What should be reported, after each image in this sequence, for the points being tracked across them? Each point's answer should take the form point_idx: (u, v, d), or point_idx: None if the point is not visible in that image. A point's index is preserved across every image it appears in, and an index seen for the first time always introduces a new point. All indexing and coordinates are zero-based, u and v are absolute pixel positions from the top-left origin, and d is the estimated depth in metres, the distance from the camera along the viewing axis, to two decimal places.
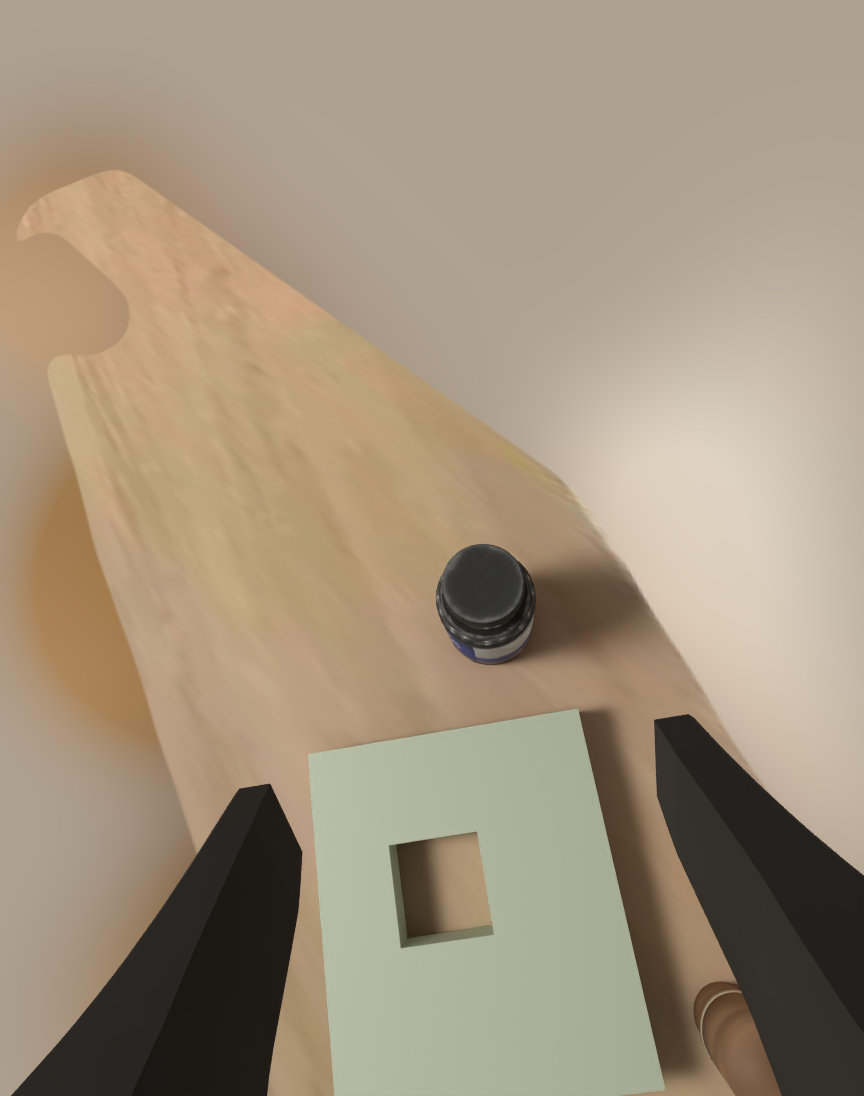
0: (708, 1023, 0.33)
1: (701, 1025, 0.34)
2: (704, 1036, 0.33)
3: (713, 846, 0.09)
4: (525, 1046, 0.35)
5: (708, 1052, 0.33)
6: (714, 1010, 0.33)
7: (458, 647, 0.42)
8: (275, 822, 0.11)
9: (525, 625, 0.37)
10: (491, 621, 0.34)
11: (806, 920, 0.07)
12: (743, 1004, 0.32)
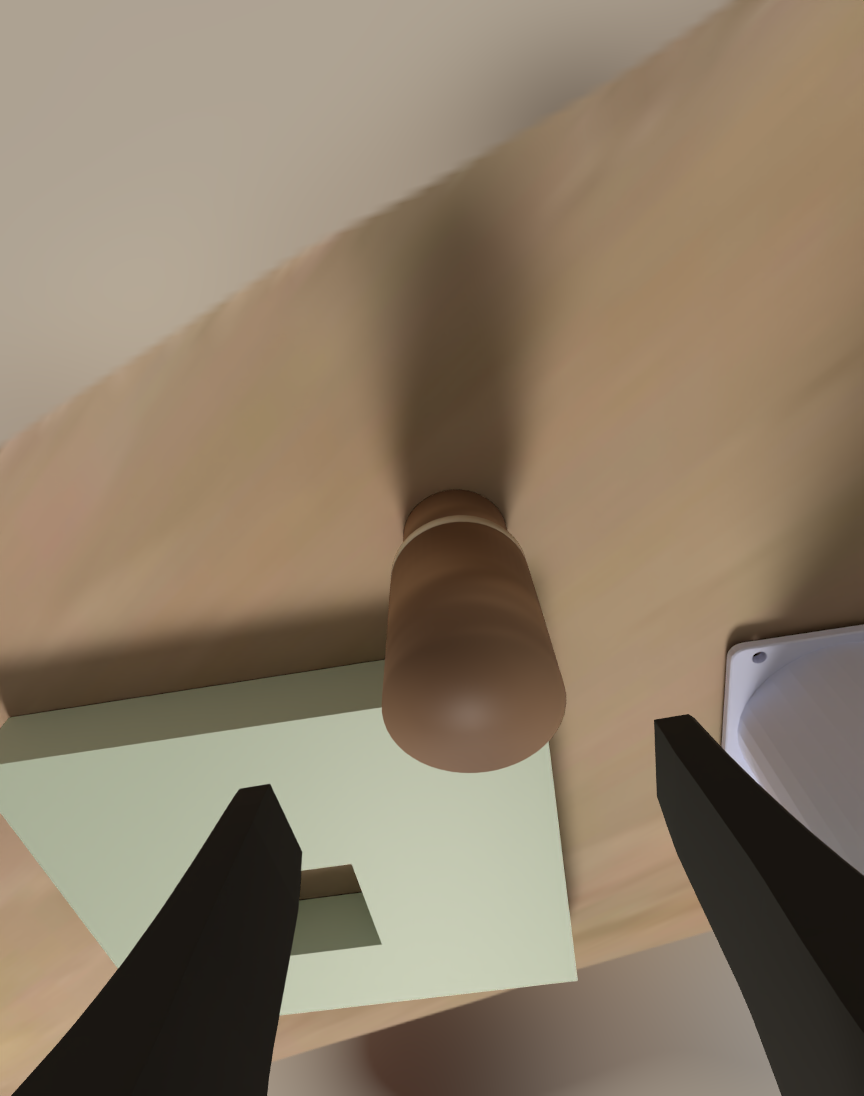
0: None
1: None
2: None
3: (713, 846, 0.09)
4: (488, 832, 0.24)
5: None
6: None
7: None
8: (275, 822, 0.11)
9: None
10: None
11: (806, 920, 0.07)
12: None
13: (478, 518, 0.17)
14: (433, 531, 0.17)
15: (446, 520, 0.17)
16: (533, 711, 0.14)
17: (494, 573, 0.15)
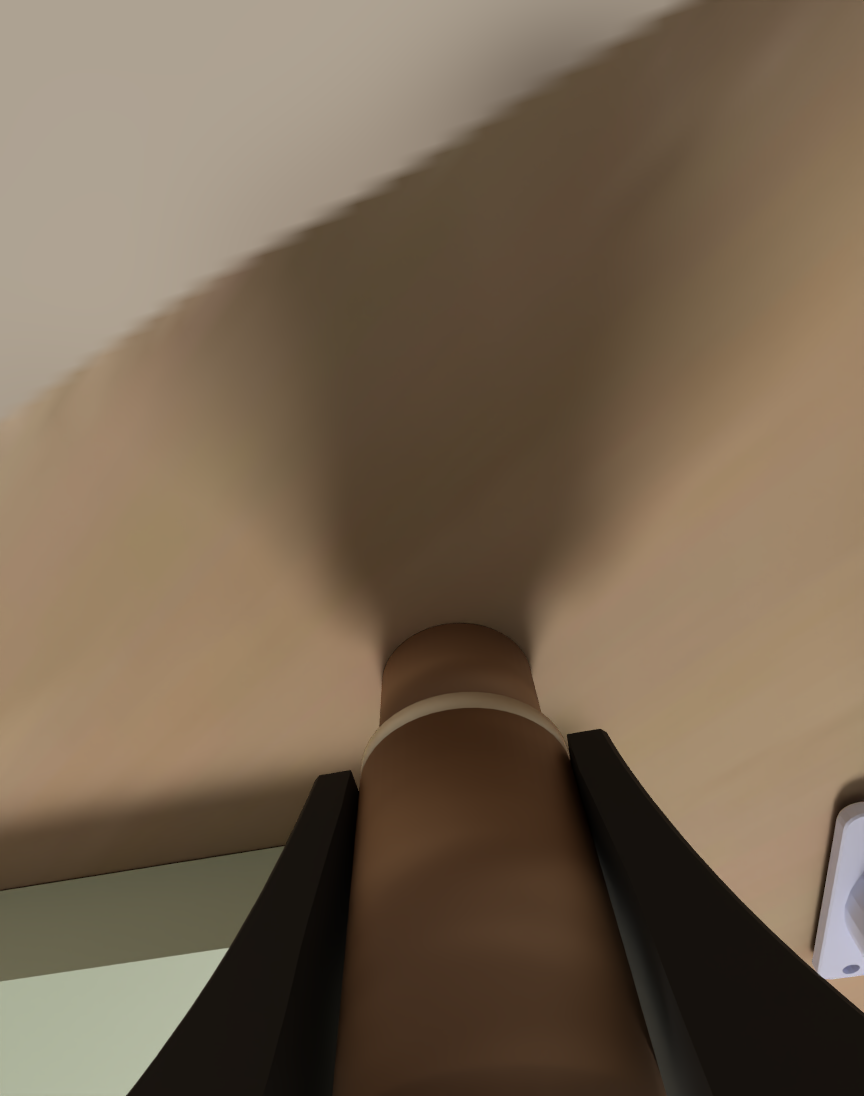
0: None
1: None
2: None
3: (609, 862, 0.09)
4: None
5: None
6: None
7: None
8: (356, 809, 0.11)
9: None
10: None
11: (670, 939, 0.07)
12: None
13: (493, 697, 0.11)
14: (422, 728, 0.11)
15: (443, 703, 0.11)
16: None
17: (527, 847, 0.09)
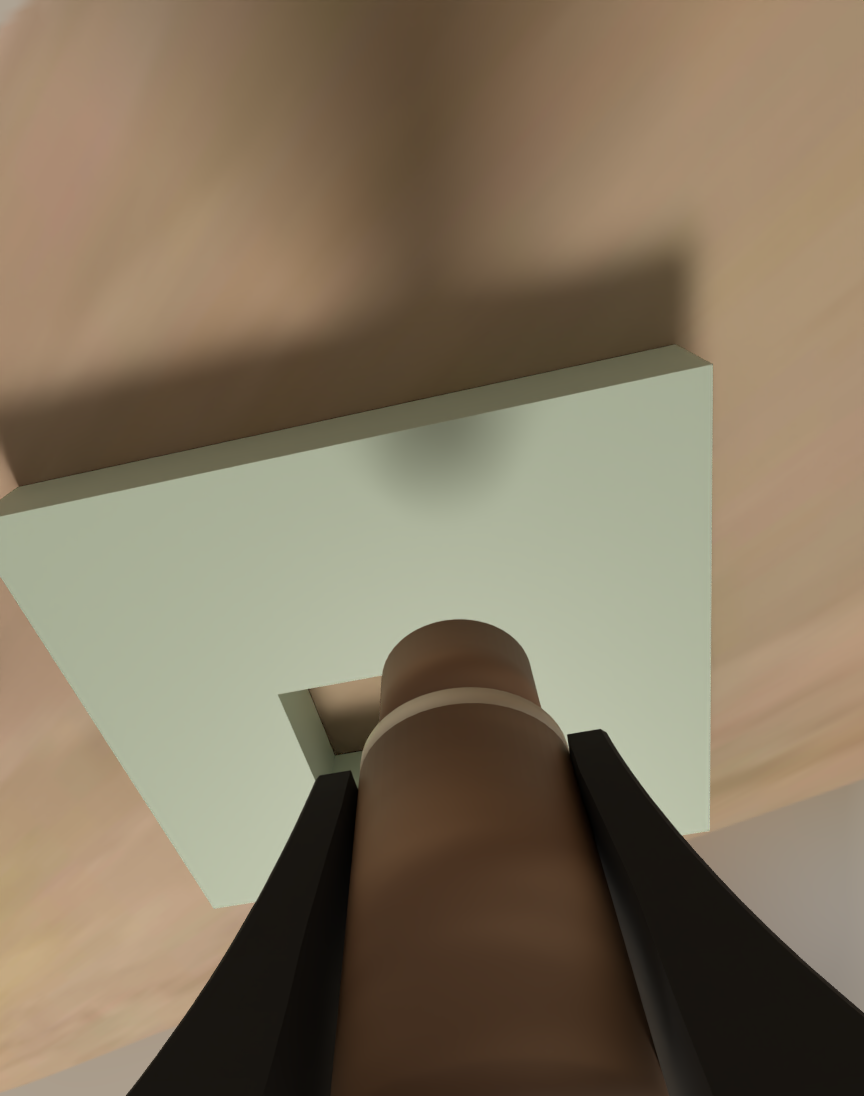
0: None
1: None
2: None
3: (608, 862, 0.09)
4: (621, 611, 0.19)
5: None
6: None
7: None
8: None
9: None
10: None
11: (669, 939, 0.07)
12: None
13: (495, 692, 0.11)
14: (424, 722, 0.11)
15: (445, 698, 0.11)
16: None
17: (530, 842, 0.08)
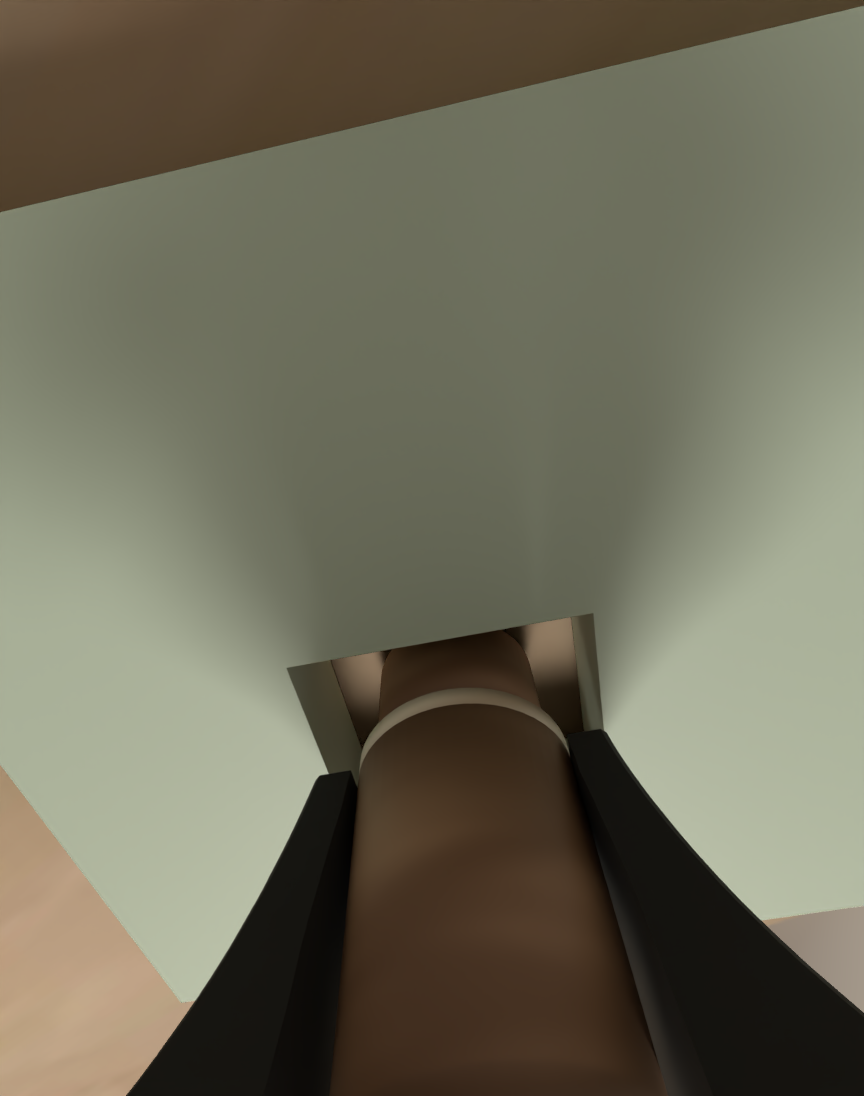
0: None
1: None
2: None
3: (608, 862, 0.09)
4: None
5: None
6: None
7: None
8: None
9: None
10: None
11: (669, 939, 0.07)
12: None
13: (495, 693, 0.11)
14: (423, 723, 0.11)
15: (444, 699, 0.11)
16: None
17: (530, 843, 0.08)
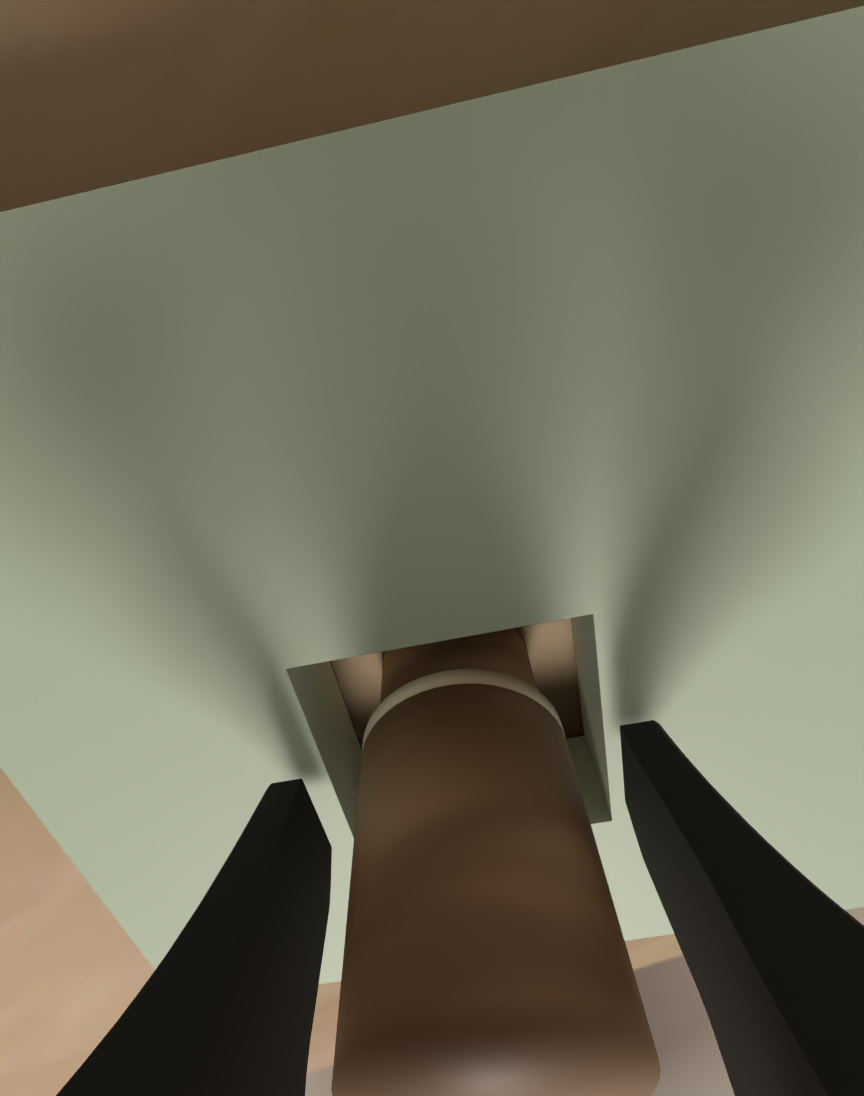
0: None
1: None
2: None
3: (672, 852, 0.09)
4: None
5: None
6: None
7: None
8: (307, 817, 0.11)
9: None
10: None
11: (752, 928, 0.07)
12: None
13: (492, 674, 0.11)
14: (424, 701, 0.11)
15: (444, 679, 0.11)
16: (599, 1089, 0.08)
17: (525, 811, 0.09)
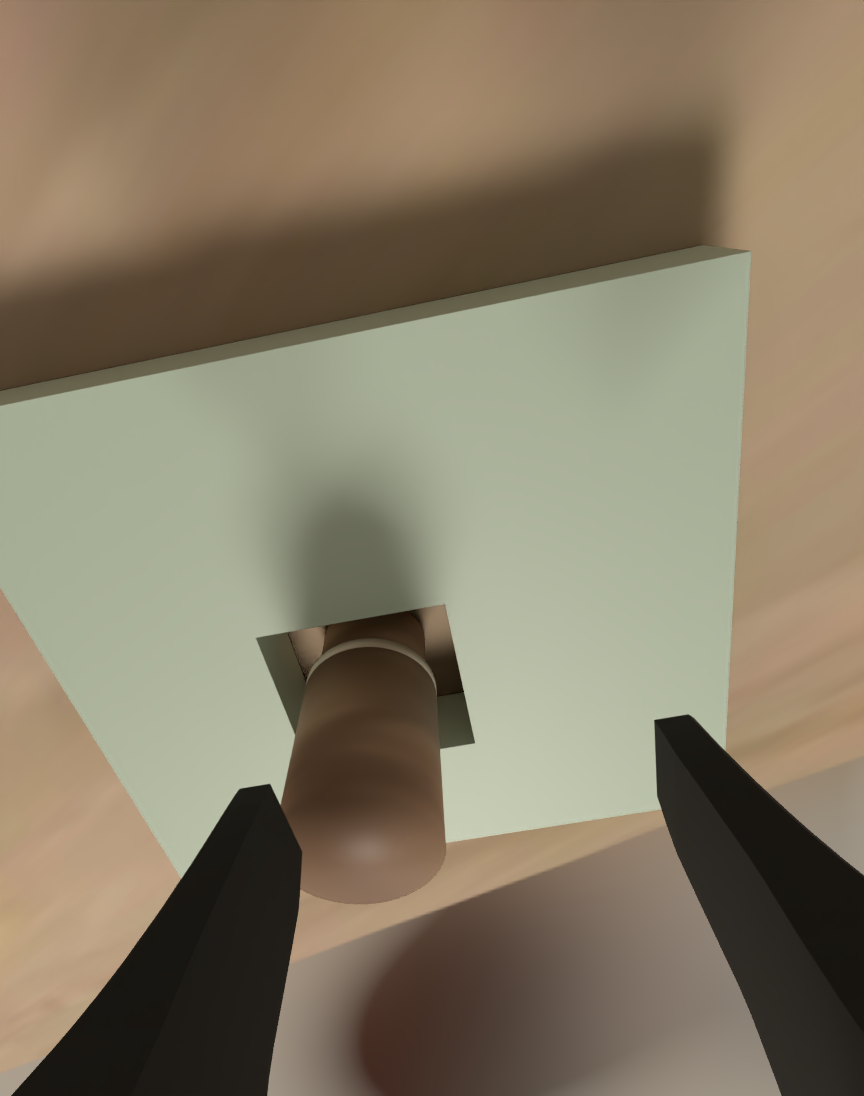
0: None
1: None
2: None
3: (713, 846, 0.09)
4: (637, 546, 0.17)
5: None
6: None
7: None
8: (275, 822, 0.11)
9: None
10: None
11: (806, 920, 0.07)
12: None
13: (385, 641, 0.18)
14: (340, 657, 0.18)
15: (354, 644, 0.18)
16: (416, 853, 0.15)
17: (387, 713, 0.16)
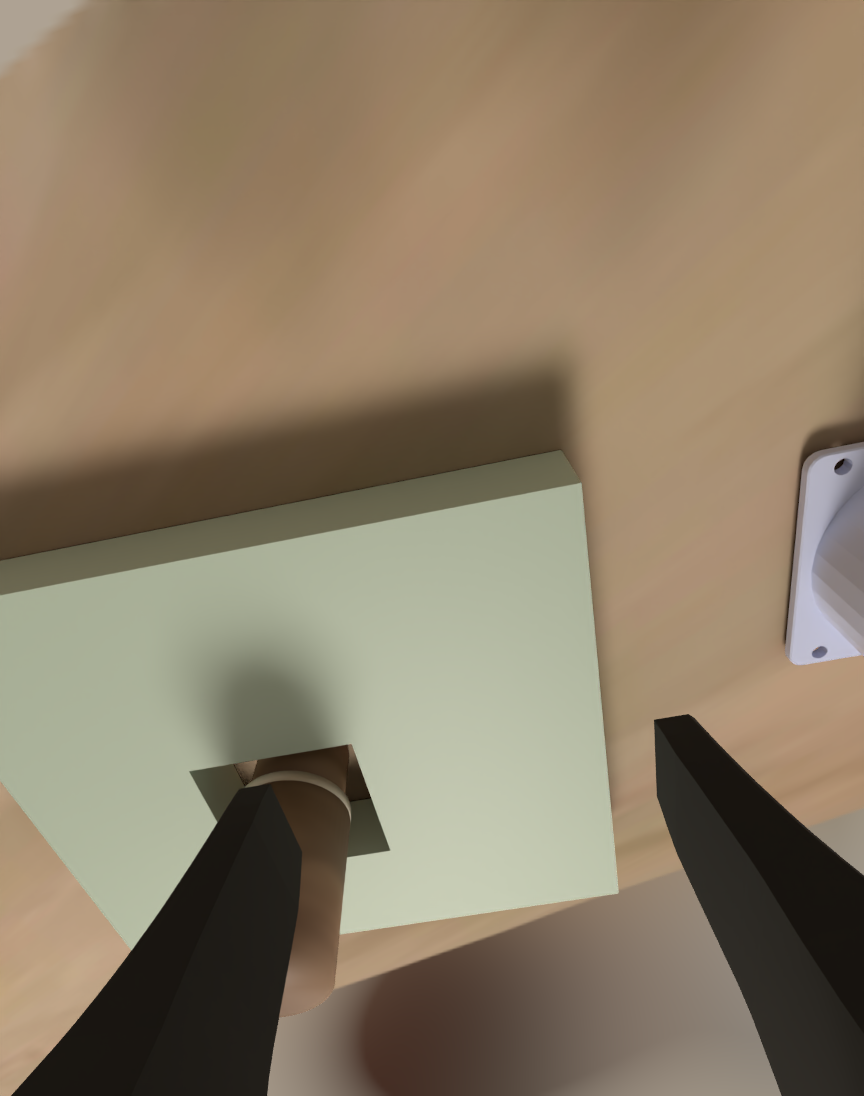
0: None
1: None
2: None
3: (713, 846, 0.09)
4: (515, 698, 0.20)
5: None
6: None
7: None
8: (275, 822, 0.11)
9: None
10: None
11: (806, 920, 0.07)
12: None
13: (302, 773, 0.21)
14: None
15: (274, 777, 0.21)
16: (309, 981, 0.17)
17: None
